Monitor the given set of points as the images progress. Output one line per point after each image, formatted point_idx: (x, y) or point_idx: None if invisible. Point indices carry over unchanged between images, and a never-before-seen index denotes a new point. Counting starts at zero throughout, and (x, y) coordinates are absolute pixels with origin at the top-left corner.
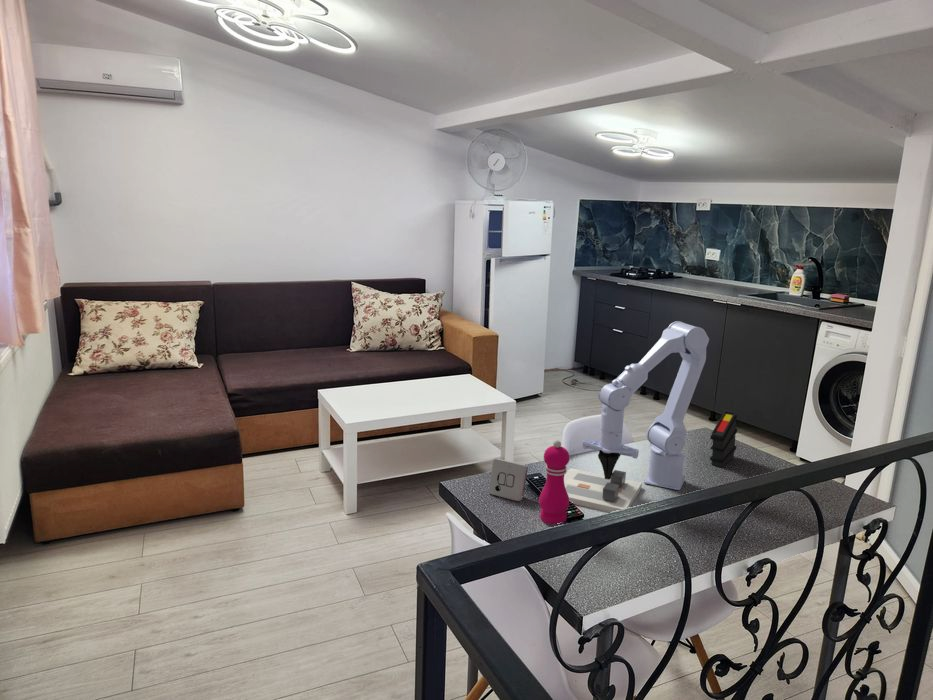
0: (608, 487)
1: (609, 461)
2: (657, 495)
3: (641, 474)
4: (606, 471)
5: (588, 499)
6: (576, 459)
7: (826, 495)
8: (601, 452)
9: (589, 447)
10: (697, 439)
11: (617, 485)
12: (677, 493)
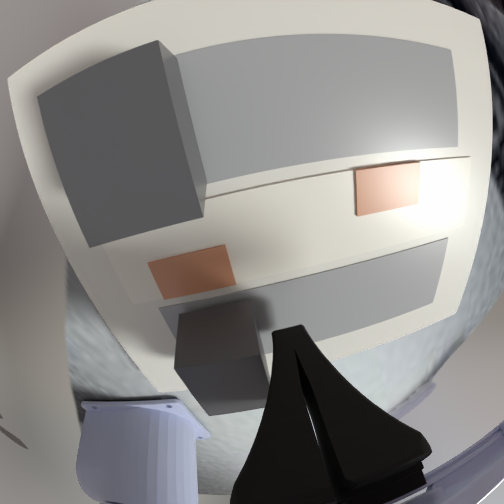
0: (121, 108)
1: (302, 456)
2: (84, 356)
3: (226, 423)
4: (305, 366)
5: (274, 7)
6: (424, 372)
7: (8, 433)
8: (404, 479)
9: (489, 443)
10: (227, 489)
11: (90, 229)
12: (71, 388)
